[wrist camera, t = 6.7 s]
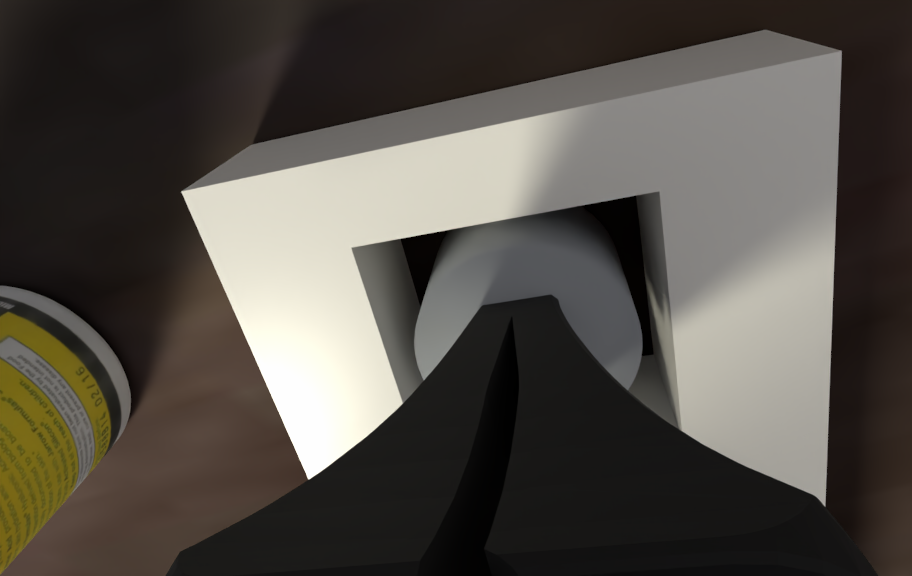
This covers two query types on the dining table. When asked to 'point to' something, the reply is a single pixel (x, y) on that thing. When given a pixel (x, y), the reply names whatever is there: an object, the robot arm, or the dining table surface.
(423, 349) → the grey button
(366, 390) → the button panel
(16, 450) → the supplement bottle
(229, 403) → the dining table surface
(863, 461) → the dining table surface
